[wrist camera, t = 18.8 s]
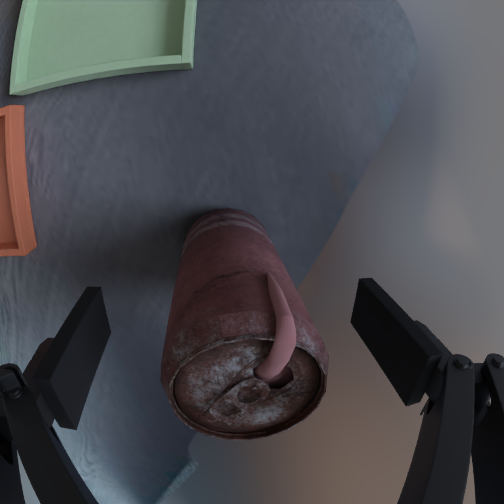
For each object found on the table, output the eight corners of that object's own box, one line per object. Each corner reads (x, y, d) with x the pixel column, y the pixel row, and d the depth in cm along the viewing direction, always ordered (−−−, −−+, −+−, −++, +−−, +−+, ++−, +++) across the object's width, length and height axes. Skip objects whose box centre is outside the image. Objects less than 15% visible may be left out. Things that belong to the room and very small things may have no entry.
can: (278, 211, 22) (368, 330, 9) (257, 290, 24) (304, 446, 11) (192, 195, 21) (163, 308, 8) (179, 278, 23) (156, 440, 10)
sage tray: (202, -56, 13) (202, -70, 11) (192, 69, 17) (190, 63, 15) (42, -25, 11) (31, -33, 10) (23, 95, 16) (9, 94, 14)
